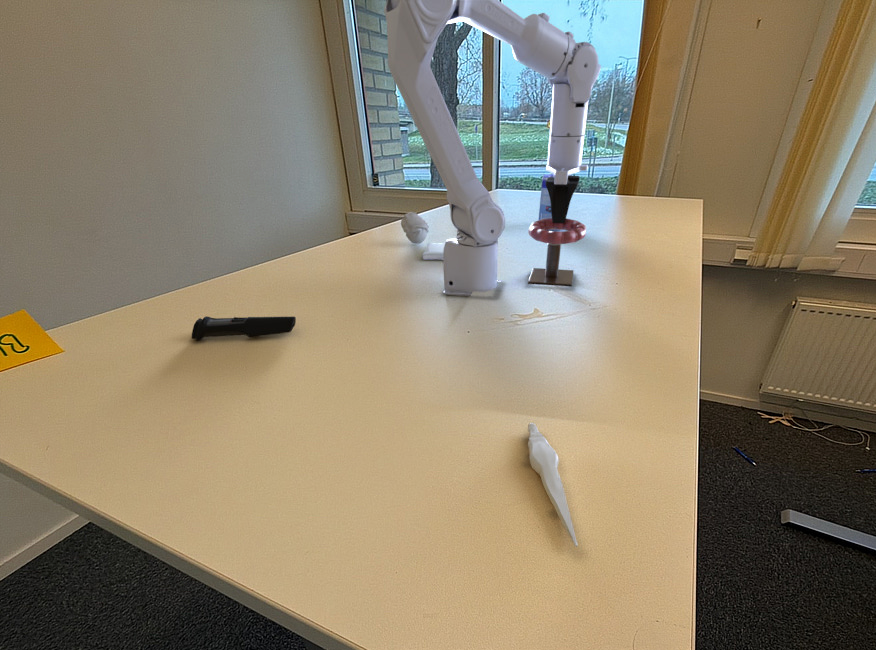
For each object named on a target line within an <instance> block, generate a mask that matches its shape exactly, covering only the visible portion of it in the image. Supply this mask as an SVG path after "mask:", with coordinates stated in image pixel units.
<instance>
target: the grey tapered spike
mask: <svg viewBox="0 0 876 650" xmlns="http://www.w3.org/2000/svg"><path fill="white" fill-rule="evenodd" d="M527 432H528V434H529V436H528V442H527V448H528V451H529V454H528V455H529V456H528V457H529V463H530V465H531V468H532V469H533V470H534V471H535V472H536V473H537V474H538V475H539V476H540V481H541V484H542V486H543V488H544V490H545V492H546V494H547V496H548V498H549V500H550V502H551V504H552V505H553V508H554V509H555V512H556V514H557V516H558V518H559V520H560V522H561V524H562V526H563V528H564V529H565V531H566V533H567V535H568V537H569V538H570V541H571V542H572V544H573V546H575V547H578V545H579V544H578V541H577V537H576V533H575V530H574V524H573V521H572V517H571V513H570V509H569V505H568V502H567V496H566V492H565V489H564V484H563V481H562V479H561V476H560V472H559V470H558V467H559V463H560V462H559V461H560V458H559V456H558V453H557V452H556V450H555V449H554V448H553V447H552V446H551V444H550V443H549V441H548V440H547V439H546V437H545V436H544V435H543V434H542V433H541V432H540V431H539V430H538V426H537V425H536V423H535V422H530V423H528V426H527Z"/></svg>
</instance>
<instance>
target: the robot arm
mask: <svg viewBox="0 0 876 650" xmlns="http://www.w3.org/2000/svg"><path fill="white" fill-rule="evenodd" d="M383 11H384V17H385V20H386V33H387V34H386V35H387V36H386V37H387V64H388V69H389V73H390V75H391V77H392V79H393V81H394V84H395V85H396V88H397V89H398V91H399V93H400V96H401V98H402V100H403V101H404V104H405V106H406V108H407V111H408V113H409V114H410V116H411V118H412V120H413V123H414V125H415V127H416V129H417V131H418V133H419V135H420V137H421V139H422V141H423V144H424V145H425V147H426V149H427V152H428V153H429V155H430V158H431V160H432V163H433V164H434V166H435V168H436V170H437V172H438V175H439V177H440V178H441V181H442V183H443V185H444V187H445V190H446V196H445V198H446V199H445V200H446V201H447V203H448V206H449V210H450V211H449V212H450V221H451V223H452V225H453V227H454V228H455V229H456V232H457V233H456V237H455V238H449V239H446V240H445V242H444V243H445V245H444V251H443V260H442V264H443V268H442V269H443V282H444V283H443V284H444V285H443V286H444V290H443V295H447V296H448V295H449V296H462V297H471V296H472V295H473V293H478V292H479V293H480V292H481V293H482V292H487V291H492V290H494V289H495V288H496V287H498V283H502V282H503V280H500V279H498V256H499V255H498V252H499V250H498V248H499V238H500V237H501V235H503V233H504V230H505V227H506V217H505V213H504V210H503V209H502V207H501V206H499V205H498V204H497V203H496V202H494V200H493V198H492V196H491V194H490V192H489V190H488V189H487V188H486V187H485V186H484V185H483V183H482V182H481V181H480V179H479V178H478V176H477V173H476V171H475V169H474V167H473V165H472V163H471V160H470V158H469V155H468V152H467V150H466V148H465V146H464V144H463V143H464V142H463V141H462V139H461V136H460V134H459V131H458V129H457V126H456V124H455V123H454V120H453V117H452V115H451V113H450V111H449V108H448V106H447V103H446V101H445V98H444V96H443V94H442V91H441V89H440V87H439V84H438V82H437V80H436V77H435V75H434V73H433V70H432V68H431V63H432V59H433V56H434V52H435V49H436V46H437V42H438V38H439V37H440V35H441V34H442V33H443V30H444V29H445V27H446V26H447V25H448V24H454V23H459V22H460V23H461V22H464V23H466V24H467V25H470V26H472V27H474V28H476V29H478V30H480V31H482V32H484V33H485V34H488V35H490V36H491V37H493V38H496V39H498V40H499V41H501V42H503V43H506V44H507V45H509V46H510V47H511V49H512V54H513V57H514V59H515V61H516V62H518V63H520V64H522V65H523V66H525V67H526V68H528V69H530V70H532V71H534V72H535V73H537V74H539V75H541V76H542V77H544V78H545V79H547V81H548V84H549V85H550V87H551V88H552V100H551V114H550V127H549V138H548V152H547V153H548V156H547V164H546V165H545V171H547V172H548V173H549V174H554V175H555V177H549V178H548V179H546V182H545V184H546V187H547V190H548V193H549V197H550V202H551V214H552V221H553V223H564V222H565V220H566V218H567V216H568V213H569V207H570V204H571V200H572V198H573V195H574V194H575V191H576V190H577V187H578V186H579V183H580V182H579V181H580V176H579V175H574V174H577V173H580V172H582V171H588V169H589V165H588V164H582V160H583V154H584V153H583V151H584V142H585V135H586V127H587V126H586V125H587V117H588V108H589V101H590V98H591V97H592V90H593V87H594V84H595V83H596V82H597V80H598V78H599V75H600V73H601V69H602V64H600V63H599V61H600V60H599V55H598V53H597V51H596V48H595V47H594V45H593V44H592V43H590V42H588V41H581V42H576V40H575V38H574V37H575V35H574V34H573V33H572V32H571V31H566V32H564V31H562V30H561V29H560V28H558V27H557V26H555V25H553V24H552V23H551V22H550V19H551V17H550V15H548V14H547V13H546V12H542V13H541V12H540V13H538V14H537V13H531V14H530V15H528V16H526V17H525V18H523V17H522V16H520V15H519V14H518V13H516V12H515V11H514V10H512V9H511V8H510V7H508V6H507V5H505V4H504V3H503V2H502V1H500V0H386V2H385V5H384V9H383Z"/></svg>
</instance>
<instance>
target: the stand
mask: <svg viewBox="0 0 876 650" xmlns="http://www.w3.org/2000/svg"><path fill="white" fill-rule="evenodd" d="M561 249H562V244H548V243H547V249H546V262H545V268H542V267H541V268H539V267H533V268H532V269H531V273H530V276H529V278H528V282H527V284H528V285H538V286H541V285H542V286H555V287H569V288H570V287H571V288H572V287H573V279H574V269H573V270H572V269H560V259H561V258H560V257H561Z"/></svg>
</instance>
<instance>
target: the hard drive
mask: <svg viewBox="0 0 876 650" xmlns="http://www.w3.org/2000/svg"><path fill="white" fill-rule="evenodd" d="M444 245H445V242H428V243H427V245H426V246H425V248H424V250H423V252H422V260H429V261H430V260H431V261H432V260H433V261H434V260H442V261H443V251H444Z"/></svg>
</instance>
